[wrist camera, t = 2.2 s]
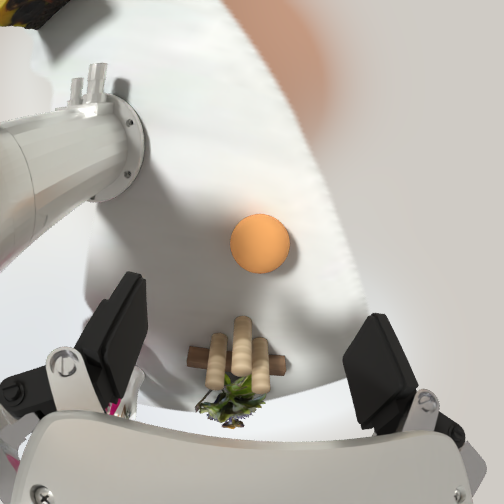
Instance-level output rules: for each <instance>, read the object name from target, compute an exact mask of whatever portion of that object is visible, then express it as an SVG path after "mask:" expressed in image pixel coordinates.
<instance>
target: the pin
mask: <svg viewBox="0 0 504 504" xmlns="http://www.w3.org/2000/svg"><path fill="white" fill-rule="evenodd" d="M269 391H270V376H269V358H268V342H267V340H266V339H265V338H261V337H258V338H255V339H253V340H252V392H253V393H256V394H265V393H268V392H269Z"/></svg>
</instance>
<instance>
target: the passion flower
mask: <svg viewBox="0 0 504 504" xmlns="http://www.w3.org/2000/svg"><path fill="white" fill-rule="evenodd" d="M224 387H225V388H223V389H221V390H222V391H223V393H220V394H219V395H218V397H217V399H216V400H215V402H214V403H209V402H204V403H201V402H202V401H203V400H204V399H205V398H206V397H207V396H208V395H209V393H210V392H211V391H212V390H211V389H210V390H209V392H208V393H207V394H206V395H205V396H204V398H203V399H202V400H201V401H200V402H199V403H198V404H197V405H196V406H195V410H196V412H197V411H198V410H199V409H200V411H199V413H204V412H208V414H207V416H208V419H210V420H213V419H214V420H217V422H220V423H222V422H225V423H224V424H223V425H222V427H223V428H231V429H234V428H235V427H244V424H243V422H242V421H239V420H238V419H239V418H241V419H242V418H244V417H249V415H252V413H251V412H255V411H256V409H255V408H261V406H260V404H265V402H264V401H263V400H264V399H265V397H266V393H265V394H264V395H262V396H261V397H257V398H254V395H255V394H256V393H253V392H252V374H250V375H248V376H245V377H240V378H239V379H237V380H236V381H234V382H233V383H231V380H230V378H229V376H228V375H227V374H226V373H225V377H224ZM224 391H225V392H224ZM253 398H254V399H253ZM252 399H253V400H252ZM200 403H201V404H200ZM236 418H238V419H236ZM244 419H245V418H244ZM227 420H229V422H227Z"/></svg>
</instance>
